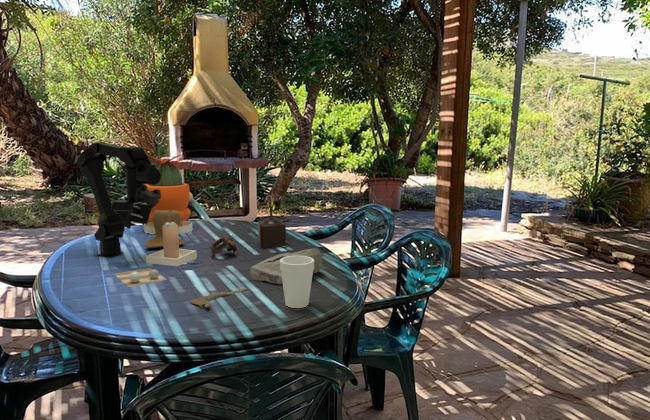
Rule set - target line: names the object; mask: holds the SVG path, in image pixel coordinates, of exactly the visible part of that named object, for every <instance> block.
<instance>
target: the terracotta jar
mask: <svg viewBox="0 0 650 420" xmlns="http://www.w3.org/2000/svg"><path fill="white" fill-rule="evenodd" d="M162 230H163V249H162V250H164V257H166V258H175V259H176V258H179V249H180V245H179V239H180V236H179V235H180V234H178V224H176V223H174V222H171V223H169V222H166V223H165V225H162Z"/></svg>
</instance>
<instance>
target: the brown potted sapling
mask: <svg viewBox="0 0 650 420" xmlns="http://www.w3.org/2000/svg"><path fill="white" fill-rule="evenodd" d="M272 203H273V205H274V209H273V205H269V206H268V207H269V210H268V212H269V217H268V218H267V219H264V220H262V221H260V220H259V221H257V236H258V237H257V239H258V243H259V244H258V243H257V244H258V246H259V245H260V246H259V247H260V248H261V249H273V248H272V247H282V246H286V245H287V242H286V235H287V231H286V230H287V229H286V228H287V227H286V224H285V223H284V221H283V220H281V219H280V217H278V218H276V217H273V212H274V213H275V212H276V211H277V212H278V211H279V210H281V209H282V208H281V206H282V203H283V200H281V198H275V199H273V200H272ZM286 247H287V246H286ZM282 248H283V247H282Z"/></svg>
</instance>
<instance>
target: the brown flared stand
mask: <svg viewBox="0 0 650 420" xmlns="http://www.w3.org/2000/svg"><path fill="white" fill-rule="evenodd" d="M166 222H169V223H171V222H174V223H176V224H178V228H179V224H180V214H179V212H178V211H160V210H156V211H154V214H153V223H154V228H155V232H156V235H154V237H153V238H150V239H146V240H145V246H146V249H160V248H163V230H162V225H165V223H166ZM184 244H185V241H184V240H183V239H180V238H179V246H182V245H184Z"/></svg>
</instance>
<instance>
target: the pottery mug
mask: <svg viewBox="0 0 650 420" xmlns="http://www.w3.org/2000/svg"><path fill="white" fill-rule="evenodd" d="M223 249H224V250H225V249H226V252H230V253H231V252H233V255H235V258H239V250H238V248H237V245H236V244H235V242H234V239H232V237H221V238H218V240H216V241H214V242H213V243H212V244H211V246H210V250H211V255H212V256H213V257H214V256H215V255H217V254H223V253H224V252H223V251H224V250H223Z"/></svg>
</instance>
